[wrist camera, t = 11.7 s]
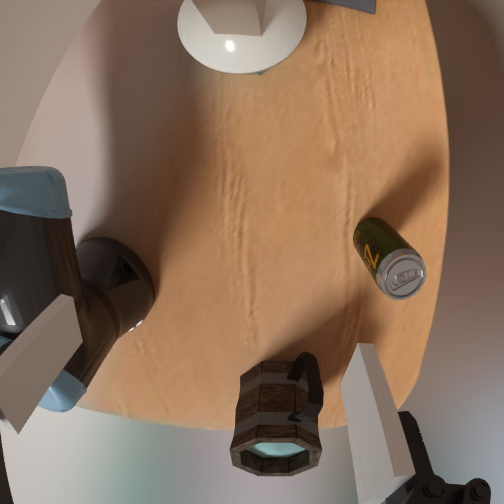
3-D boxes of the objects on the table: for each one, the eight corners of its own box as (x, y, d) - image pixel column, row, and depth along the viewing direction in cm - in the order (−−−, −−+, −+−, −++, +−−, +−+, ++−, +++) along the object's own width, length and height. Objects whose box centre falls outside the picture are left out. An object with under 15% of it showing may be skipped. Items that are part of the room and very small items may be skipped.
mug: (295, 415, 53) (296, 481, 39) (228, 398, 52) (216, 466, 38) (348, 345, 45) (368, 419, 31) (269, 320, 44) (265, 399, 30)
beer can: (384, 209, 36) (424, 244, 25) (393, 246, 38) (431, 290, 27) (346, 224, 38) (373, 264, 27) (357, 260, 39) (384, 309, 28)
